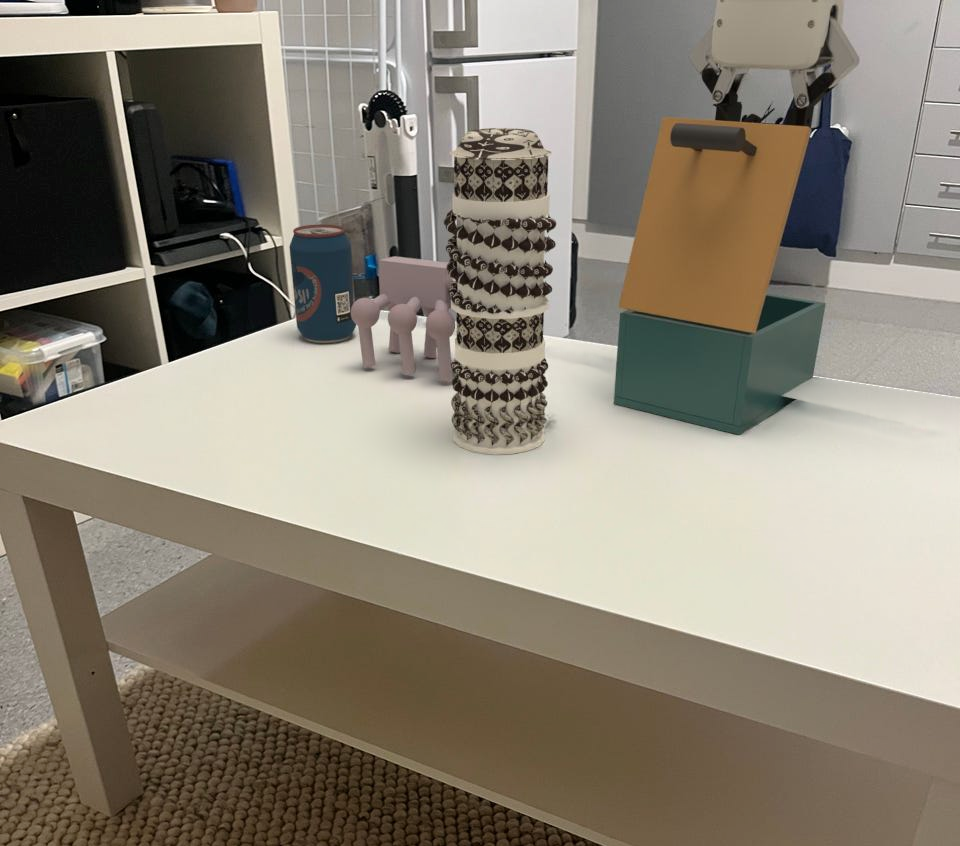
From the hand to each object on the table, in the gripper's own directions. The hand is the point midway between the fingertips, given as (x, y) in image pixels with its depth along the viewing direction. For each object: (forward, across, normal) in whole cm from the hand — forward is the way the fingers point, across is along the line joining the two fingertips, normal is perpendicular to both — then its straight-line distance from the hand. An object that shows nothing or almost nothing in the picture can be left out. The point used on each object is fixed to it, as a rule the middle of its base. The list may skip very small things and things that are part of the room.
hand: (758, 152), depth 91 cm
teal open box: (+22, 0, +3) cm, 22 cm away
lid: (+5, 0, +8) cm, 9 cm away
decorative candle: (+22, +10, +25) cm, 35 cm away
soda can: (+22, +46, +12) cm, 52 cm away
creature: (+1, 0, 0) cm, 1 cm away
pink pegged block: (+22, +26, +13) cm, 36 cm away
